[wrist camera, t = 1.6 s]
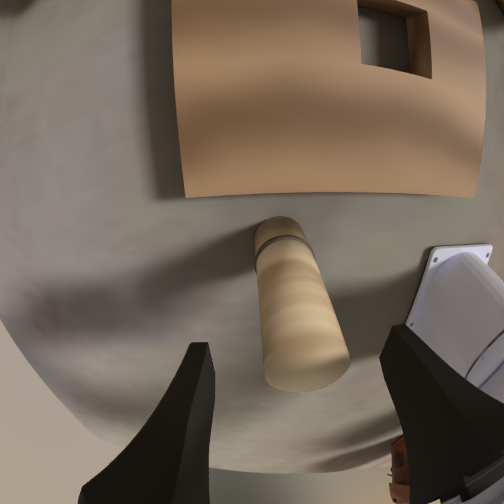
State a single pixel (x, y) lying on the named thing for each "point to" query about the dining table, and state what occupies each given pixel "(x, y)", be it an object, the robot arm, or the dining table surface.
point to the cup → (501, 4)
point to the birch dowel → (295, 312)
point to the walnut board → (326, 98)
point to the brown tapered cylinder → (400, 473)
